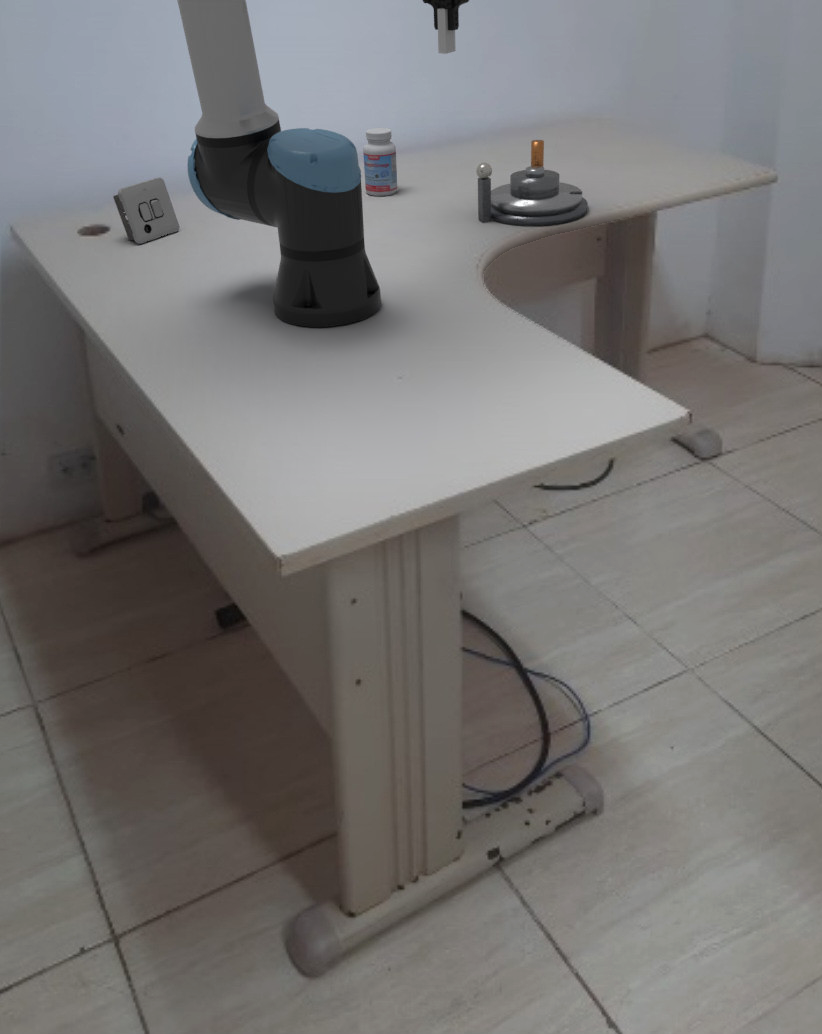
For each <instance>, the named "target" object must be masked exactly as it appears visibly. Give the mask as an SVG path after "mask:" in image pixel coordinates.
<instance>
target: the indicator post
mask: <svg viewBox="0 0 822 1034" xmlns="http://www.w3.org/2000/svg"><path fill="white" fill-rule="evenodd" d="M492 173H493V168H492V166H491V164H489V163H487V162H481V163H480V164H478V165H477V168H476V176H477V213H478V214H477V215H478V216H477V217H478V218H477V219H478V220H479V222H480V223H489V222H491V221H492V220H491V191H492V178H491V176H492ZM488 221H489V222H488Z"/></svg>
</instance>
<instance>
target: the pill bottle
mask: <svg viewBox="0 0 822 1034" xmlns="http://www.w3.org/2000/svg"><path fill="white" fill-rule="evenodd" d="M392 136H393V135H392V129H390V128H386V127H376V128H375V127H374V128H369V129H367V130H365V138H366V141H367V142H366V143H365V144H364V146H363V151H362V152H363V164H364V165H363V169H364V185H365V192H366V193H367V194H368V195H369V196H373V197H385V196H390V195H394V194H395V193H396V192H397V191H398V174H397V173H398V171H397V170H398V168H397V166H398V165H397V149H396V145H395V144H394V143H393V142H392V141H391V140H392Z"/></svg>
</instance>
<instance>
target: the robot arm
mask: <svg viewBox="0 0 822 1034" xmlns="http://www.w3.org/2000/svg"><path fill="white" fill-rule="evenodd" d="M422 2H423V4H428V5H430V6H431V7H432V8H433V26H434V30H436V31H437V42H438V43H437V44H438V54H446V55H447V54H450V53H453V52H456V31H457V30H458V29H459V27H460V26H459V25H460V24H459V23H460V22H459V21H460V20H459V16H460V15H459V10H460V9H459V8H460V6H462V5H464V4H466V3H468V2H470V0H422ZM177 5H178V9H179V13H180V18H181V23H182V28H183V32H184V37H185V41H186V45H187V50H188V55H189V59H190V64H191V68H192V72H193V77H194V82H195V87H196V91H197V97H198V100H199V105H200V109H201V117H200V119H198V121H197V123H196V124H195V126H194V132H195V139H194V141H193V143H192V144H191V147H190V151H191V154H190V155H188V157H187V176H188V179H189V182H190V186H191V189H192V190H193V192H194V195H196V198H197V199H198V200H199V201H200V202H201V203H202V205H204V206H205V207H206V208H208V209H209V210H211V211H212V212H214V213H217V214H220V215H223V216H225V217H226V218H228V219H229V218H230V219H232V220H238V221H240V220H242V221H247V222H250V223H256V224H259V225H265V226H269V227H274V228H277V233H278V243H279V250H280V251H279V252H280V261H279V266H278V267H279V268H278V272H277V276H276V279H275V280H276V281H275V286H274V291H273V295H272V296H273V297H272V301H273V308H274V314H275V315H276V317H277V318H279V320H281V321H283V322H285V323H288V324H291V325H295V326H301V327H309V328H310V327H312V328H313V327H314V328H316V327H318V328H321V327H322V328H324V327H337V326H343V325H349V324H353V323H356V322H360V321H362V320H365V319H367V318H369V317H371V316H373V315H374V314H376V313H377V312H378V311H379V310H380V308H381V306H382V295H381V294H382V293H381V288H380V285H379V282H378V280H377V277H376V275H375V272H374V270H373V267H372V265H371V262H370V260H369V257H368V255H367V252H366V245H365V232H364V231H365V229H364V227H365V226H364V211H363V196H362V195H363V194H362V191H363V190H362V189H363V188H362V170H361V167H360V165H359V154H358V151H357V147H356V146H355V144H354V143H353V141H351V139H349V138H348V137H346V136H345V135H343V134H340V133H338V132H336V131H331V130H328V129H321V128H315V129H310V128H308V127H307V128H306V127H299V128H298V127H297V128H290V129H289V128H288V129H286V130H282V127H281V124H280V117H279V114H278V112H276V111H275V110H274V109H272V108H271V107H270V106H268V105H267V104H266V103H265V96H264V90H263V86H262V81H261V75H260V69H259V65H258V59H257V55H256V48H255V43H254V39H253V33H252V27H251V21H250V16H249V11H248V7H247V6H248V5H247V1H246V0H177Z"/></svg>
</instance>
